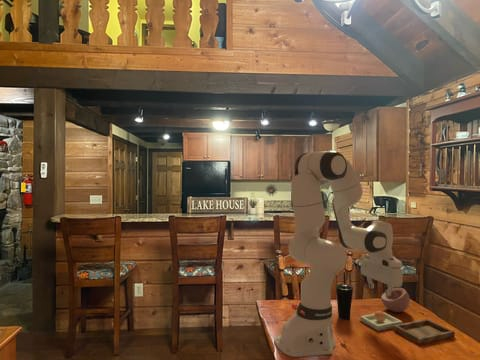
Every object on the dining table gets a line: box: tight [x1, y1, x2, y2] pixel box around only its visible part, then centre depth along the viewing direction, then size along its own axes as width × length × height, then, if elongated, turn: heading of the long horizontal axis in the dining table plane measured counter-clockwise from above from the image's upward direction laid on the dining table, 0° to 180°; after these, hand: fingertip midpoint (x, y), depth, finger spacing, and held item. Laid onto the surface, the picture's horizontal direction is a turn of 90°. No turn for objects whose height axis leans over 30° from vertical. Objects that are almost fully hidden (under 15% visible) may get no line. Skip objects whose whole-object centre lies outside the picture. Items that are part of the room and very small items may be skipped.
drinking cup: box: [335, 271, 354, 321], centre depth 141 cm, size 8×8×20 cm
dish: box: [393, 318, 456, 346], centre depth 126 cm, size 18×12×2 cm, turn 110°
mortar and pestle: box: [380, 287, 411, 313], centre depth 148 cm, size 12×12×12 cm
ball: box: [374, 310, 386, 322], centre depth 135 cm, size 4×4×4 cm
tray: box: [359, 311, 403, 332], centre depth 135 cm, size 13×10×2 cm
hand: (379, 291), depth 134 cm, fingers open, 8 cm apart
